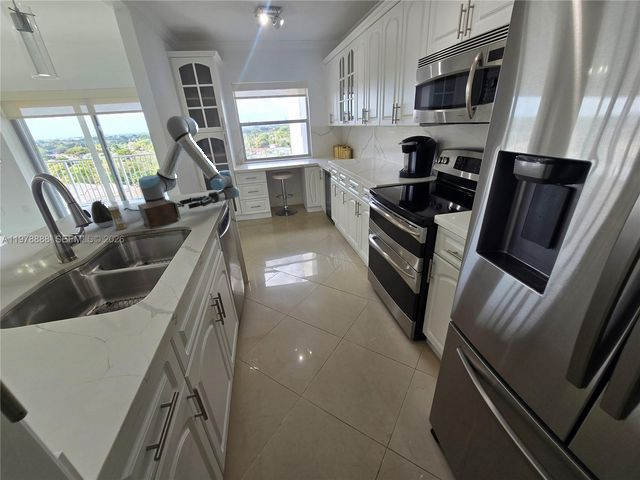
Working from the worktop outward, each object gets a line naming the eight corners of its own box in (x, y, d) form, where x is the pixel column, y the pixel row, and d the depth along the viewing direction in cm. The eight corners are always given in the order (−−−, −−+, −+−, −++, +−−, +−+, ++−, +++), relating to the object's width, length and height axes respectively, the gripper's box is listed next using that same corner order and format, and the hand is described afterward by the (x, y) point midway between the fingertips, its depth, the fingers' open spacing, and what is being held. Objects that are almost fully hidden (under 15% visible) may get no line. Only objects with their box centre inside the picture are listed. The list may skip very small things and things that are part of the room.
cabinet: (170, 216, 161) (164, 198, 156) (178, 221, 153) (172, 202, 148) (144, 223, 151) (137, 205, 146) (151, 228, 143) (144, 208, 138)
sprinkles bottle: (123, 229, 144) (114, 206, 138) (115, 230, 144) (105, 207, 138) (128, 226, 148) (119, 204, 143) (119, 227, 148) (110, 205, 142)
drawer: (181, 212, 164) (177, 197, 160) (188, 216, 157) (184, 200, 153) (150, 221, 152) (144, 205, 148) (156, 225, 145) (151, 208, 141)
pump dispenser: (120, 221, 158) (110, 197, 151) (114, 227, 149) (103, 201, 142) (101, 224, 155) (90, 199, 148) (93, 230, 146) (81, 204, 139)
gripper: (227, 205, 166) (194, 214, 152) (209, 199, 182) (178, 207, 168) (224, 193, 163) (191, 202, 149) (206, 188, 179) (175, 195, 165)
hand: (184, 204), depth 159 cm, fingers open, 13 cm apart
